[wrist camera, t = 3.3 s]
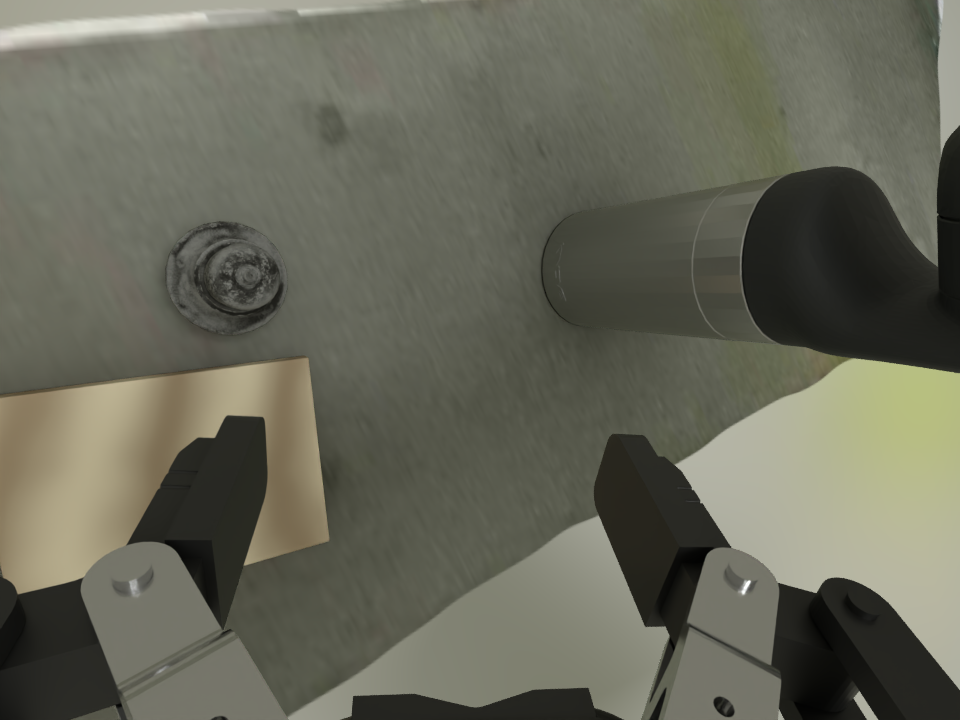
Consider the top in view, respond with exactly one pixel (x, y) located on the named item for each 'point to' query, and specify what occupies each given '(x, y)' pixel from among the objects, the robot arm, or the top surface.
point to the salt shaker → (226, 278)
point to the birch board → (145, 462)
